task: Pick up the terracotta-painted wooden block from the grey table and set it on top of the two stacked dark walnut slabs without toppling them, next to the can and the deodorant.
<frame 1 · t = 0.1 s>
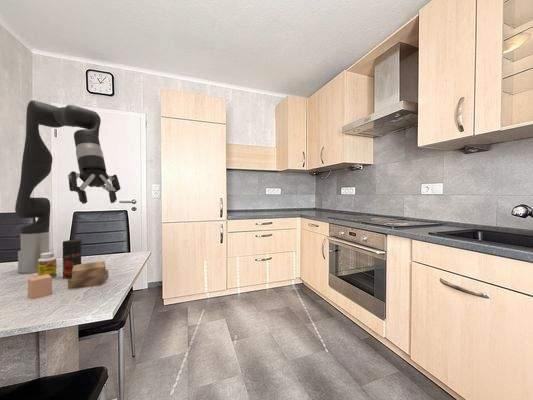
hand: (99, 202, 78), 31 cm above the table, tool tilted 20°, fingers open, 8 cm apart
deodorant: (72, 277, 97), on the table
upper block: (89, 274, 90), point 3 cm above the table, touching lower block
lower block: (89, 283, 90), on the table, touching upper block
clay block: (40, 295, 78), on the table
supplement bottle: (47, 278, 95), on the table
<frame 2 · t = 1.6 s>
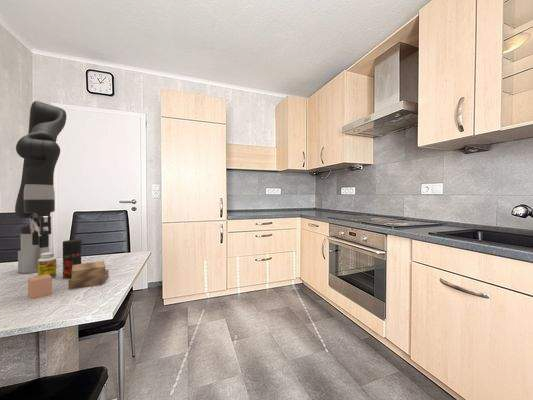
hand: (40, 246, 78), 17 cm above the table, tool pointing down, fingers open, 8 cm apart
nothing on the table moved.
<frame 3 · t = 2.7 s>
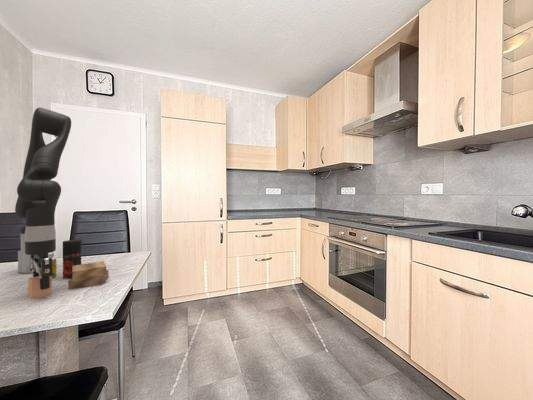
hand: (41, 286, 78), 3 cm above the table, tool pointing down, fingers open, 8 cm apart
nothing on the table moved.
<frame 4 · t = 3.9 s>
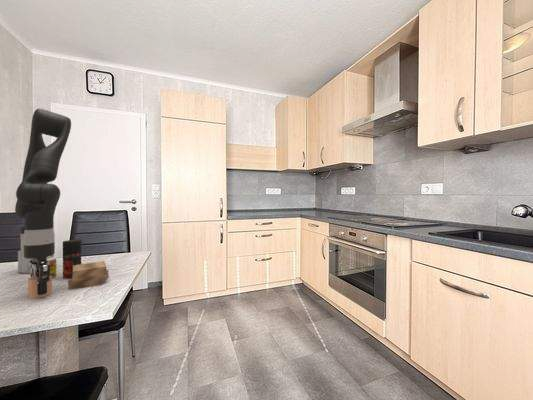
hand: (39, 292, 78), 1 cm above the table, tool pointing down, fingers closed on clay block, 5 cm apart
clay block: (39, 294, 78), on the table, touching gripper
everything else where it was.
when the fingers open (8 cm above the table, at t = 10.1 s): clay block moves 1 cm, resting on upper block.
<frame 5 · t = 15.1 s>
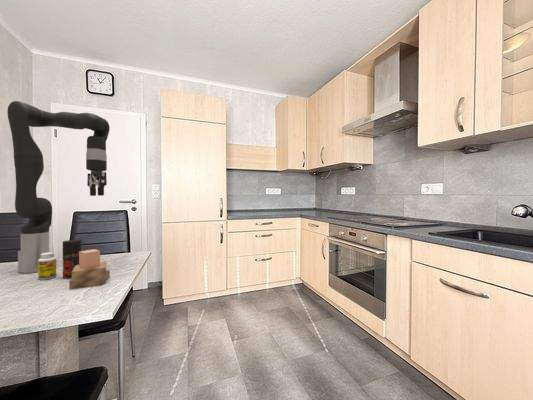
hand: (96, 195, 105), 34 cm above the table, tool pointing down, fingers open, 8 cm apart
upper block: (90, 275, 90), point 3 cm above the table, touching clay block, lower block
clay block: (89, 266, 89), point 6 cm above the table, touching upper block
everything else where it was.
at the end: clay block inside the target area on the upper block (0.3 cm from its centre), point 3.5 cm above the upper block's base; clay block tilted 0°; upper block moved 0.8 cm from its start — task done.
